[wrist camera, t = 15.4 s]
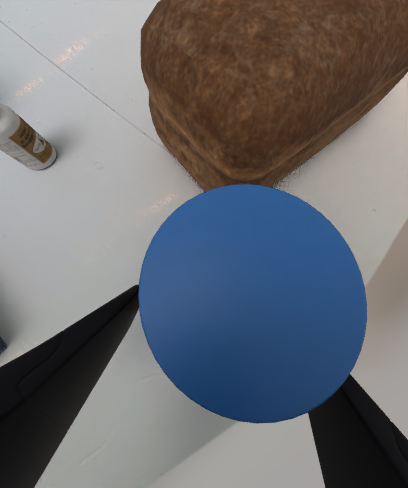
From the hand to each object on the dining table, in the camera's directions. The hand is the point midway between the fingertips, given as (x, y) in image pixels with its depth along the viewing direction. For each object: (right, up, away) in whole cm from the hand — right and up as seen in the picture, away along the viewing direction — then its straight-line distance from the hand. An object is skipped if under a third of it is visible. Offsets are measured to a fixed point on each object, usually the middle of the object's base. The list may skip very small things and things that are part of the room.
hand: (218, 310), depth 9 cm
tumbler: (0, 0, +8) cm, 8 cm away
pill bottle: (-24, +16, +13) cm, 31 cm away
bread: (+8, +21, +15) cm, 27 cm away
